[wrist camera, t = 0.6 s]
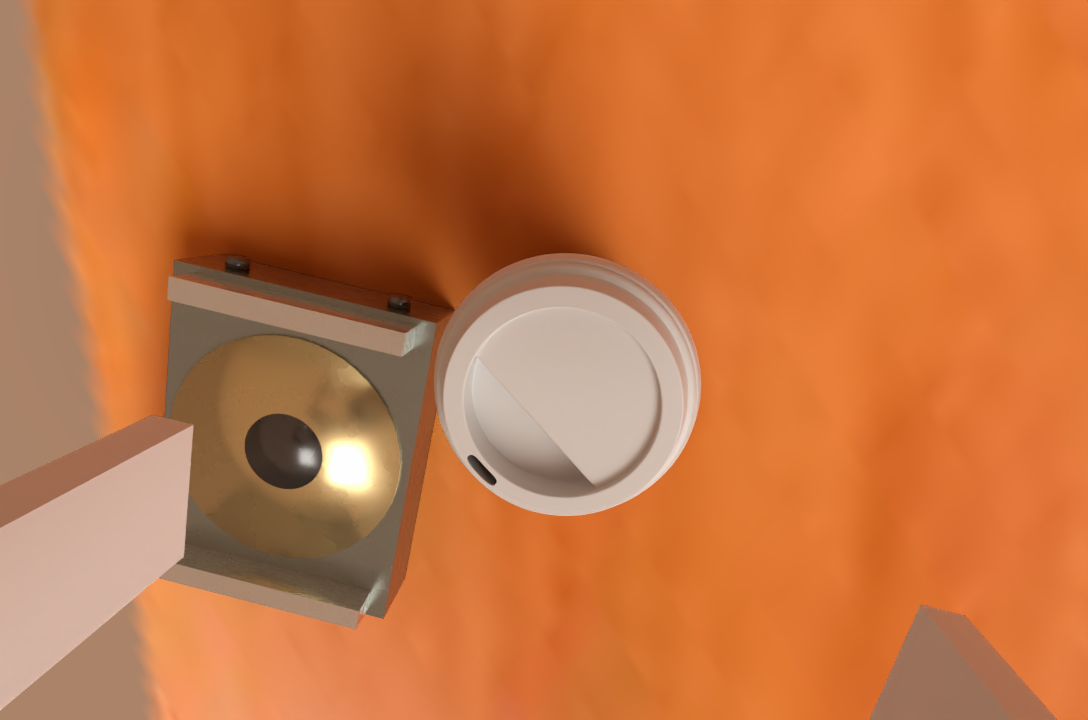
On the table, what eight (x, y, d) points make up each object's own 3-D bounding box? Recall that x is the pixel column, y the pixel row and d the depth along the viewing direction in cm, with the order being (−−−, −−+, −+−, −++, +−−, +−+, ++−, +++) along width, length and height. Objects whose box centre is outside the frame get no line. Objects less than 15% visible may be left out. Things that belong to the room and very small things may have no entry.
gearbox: (222, 243, 35) (150, 251, 30) (457, 300, 35) (429, 318, 29) (198, 525, 40) (132, 577, 34) (404, 578, 40) (372, 639, 34)
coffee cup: (470, 268, 34) (373, 313, 20) (635, 210, 33) (661, 214, 18) (527, 422, 36) (477, 567, 22) (685, 375, 35) (745, 497, 20)
